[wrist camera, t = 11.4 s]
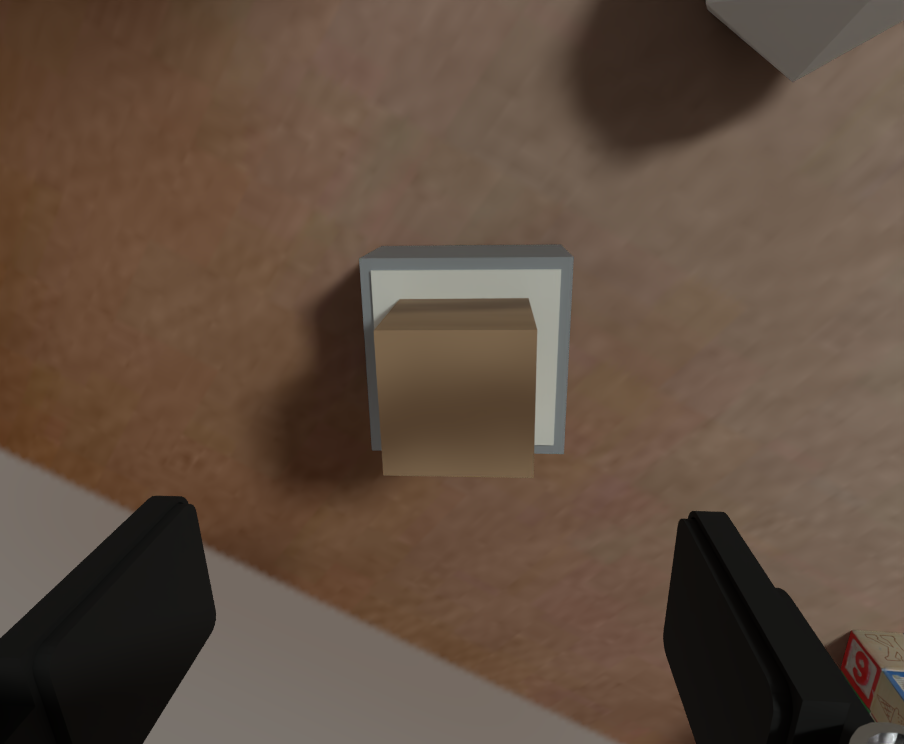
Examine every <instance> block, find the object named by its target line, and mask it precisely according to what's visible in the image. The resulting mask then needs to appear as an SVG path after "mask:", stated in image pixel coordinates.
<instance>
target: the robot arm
mask: <svg viewBox="0 0 904 744" xmlns="http://www.w3.org/2000/svg"><path fill="white" fill-rule="evenodd" d="M215 621H216V610H215V605H214V600H213V595H212V590H211V584H210V579H209V575H208V569H207V564H206V559H205V554H204V549H203V544H202V538H201V533H200V528H199V523H198V518H197V513H196V509H195V507H194V506H193V505H192V504H188V501H187V500H186V499H185V498H184V497H182V496H152V497H151V498H149V499H148V500H147V501H146V502H145V503H144V504H143V505H141V506H140V507H139V508H138V509H137V510H136V511H135V512H134V513H133V514H132V515H131V516H130V517H129V518H128V519H127V520H126V521H124V522H123V523H122V524H121V525H120V526H119V527H118V528H117V529H116V530H115V531H114V532H113V533H112V534H111V535H110V536H109V537H107V538H106V539H105V540H104V541H103V542H102V543H101V544H100V545H99V546H98V547H97V548H96V549H95V550H94V551H93V552H92V553H90V555H88V556H87V557H86V558H85V559H84V560H83V561H82V562H81V563H80V564H79V565H78V566H77V567H76V568H75V569H73V570H72V571H71V572H70V573H69V574H68V575H67V576H66V577H65V578H64V579H63V580H62V581H61V582H60V583H59V584H58V585H57V586H55V588H53V589H52V590H51V591H50V592H49V593H48V594H47V595H46V596H45V597H44V598H43V599H42V600H41V601H39V602H38V603H37V604H36V605H35V606H34V607H33V608H32V609H31V610H30V611H29V612H28V613H27V614H26V615H25V616H24V617H23V618H22V619H20V620H19V621H18V622H17V623H16V624H15V625H14V626H13V627H12V628H11V629H10V630H9V631H8V632H7V633H6V634H4V635H3V636H2V637H1V638H0V744H143V742H144V740H145V739H146V738H147V736H148V734H149V733H150V731H151V729H152V728H153V726H154V725H155V723H156V721H157V720H158V718H159V716H160V715H161V713H162V712H163V710H164V709H165V707H166V705H167V704H168V702H169V700H170V699H171V697H172V695H173V694H174V692H175V691H176V689H177V688H178V686H179V684H180V683H181V681H182V679H183V678H184V676H185V675H186V673H187V671H188V670H189V668H190V667H191V665H192V663H193V662H194V660H195V659H196V657H197V655H198V654H199V652H200V650H201V649H202V647H203V646H204V644H205V642H206V641H207V639H208V638H209V636H210V634H211V633H212V631H213V628H214V625H215ZM663 641H664V648H665V653H666V656H667V659H668V662H669V665H670V668H671V671H672V674H673V677H674V680H675V683H676V686H677V689H678V692H679V695H680V697H681V700H682V703H683V706H684V709H685V712H686V715H687V718H688V721H689V724H690V727H691V730H692V733H693V736H694V739H695V741H696V744H904V726H903V725H898V724H894V723H889V722H875V721H874V720H873V718H872V717H871V715H870V714H869V712H868V711H867V709H866V708H865V706H864V705H863V704H862V702H861V701H860V699H859V698H858V696H857V695H856V693H855V692H854V690H853V689H852V687H851V686H850V684H849V683H848V681H847V680H846V678H845V677H844V675H843V674H842V672H841V671H840V670H839V668H838V667H837V665H836V664H835V662H834V661H833V659H832V658H831V656H830V655H829V653H828V652H827V650H826V649H825V647H824V646H823V644H822V643H821V641H820V640H819V639H818V637H817V636H816V634H815V633H814V631H813V630H812V628H811V627H810V625H809V624H808V622H807V621H806V619H805V618H804V616H803V615H802V613H801V612H800V610H799V609H798V607H797V606H796V605H795V603H794V602H793V600H792V599H791V597H790V596H789V595H788V594H787V593H786V592H785V591H784V590H782V589H780V588H775V587H774V585H773V584H772V582H771V581H770V579H769V578H768V576H767V575H766V573H765V572H764V570H763V569H762V567H761V566H760V564H759V563H758V561H757V559H756V558H755V556H754V555H753V553H752V552H751V550H750V549H749V547H748V546H747V544H746V543H745V541H744V540H743V538H742V537H741V535H740V534H739V532H738V530H737V529H736V527H735V526H734V524H733V523H732V521H731V520H730V518H729V517H728V515H727V514H726V513H724V512H708V511H692V512H690V514H689V516H688V519H680V521H679V523H678V529H677V536H676V543H675V551H674V558H673V566H672V573H671V580H670V588H669V595H668V603H667V610H666V617H665V625H664V633H663Z"/></svg>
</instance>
